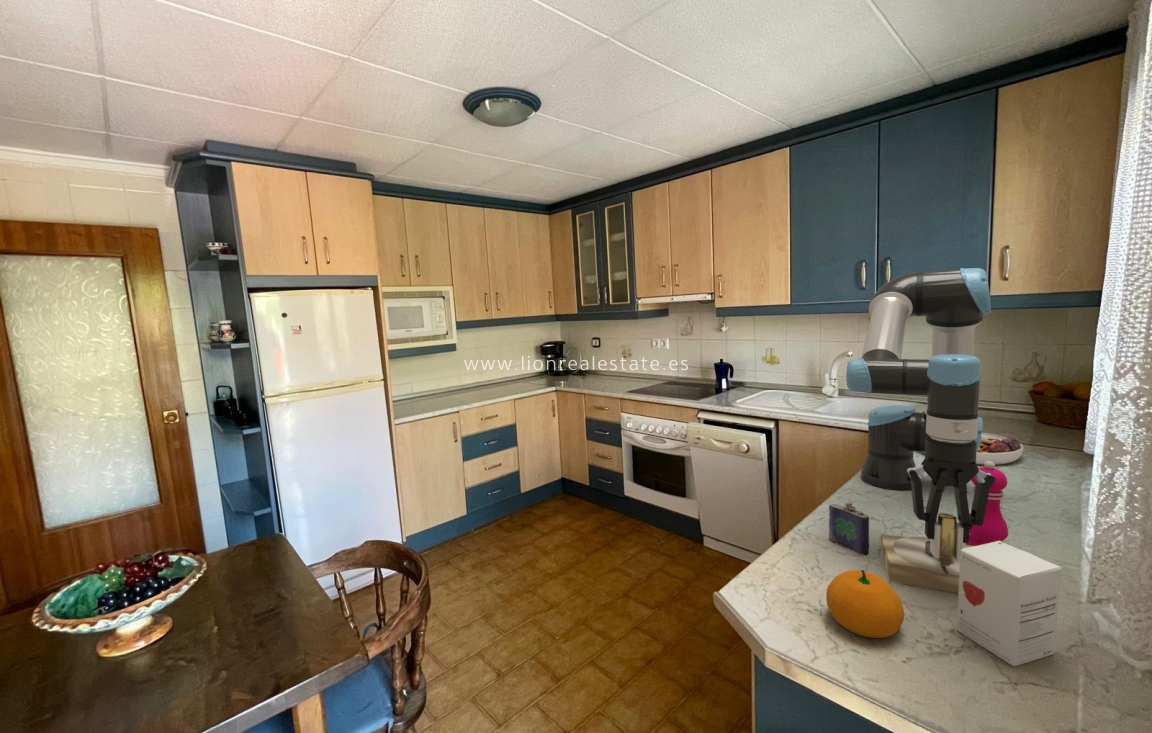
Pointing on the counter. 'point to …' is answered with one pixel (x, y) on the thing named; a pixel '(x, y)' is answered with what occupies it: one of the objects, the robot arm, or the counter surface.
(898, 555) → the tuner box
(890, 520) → the counter surface
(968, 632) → the supplement box
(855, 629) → the fruit
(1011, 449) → the bowl
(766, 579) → the counter surface
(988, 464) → the pepper mill
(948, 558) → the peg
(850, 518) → the flask
